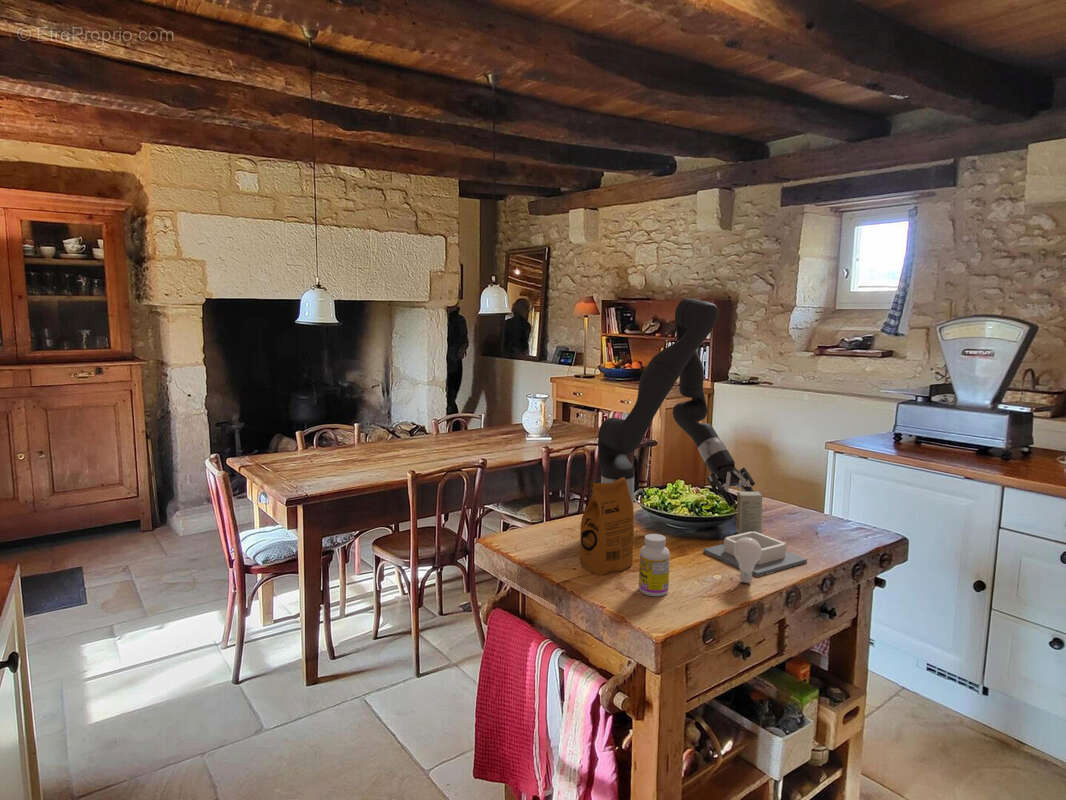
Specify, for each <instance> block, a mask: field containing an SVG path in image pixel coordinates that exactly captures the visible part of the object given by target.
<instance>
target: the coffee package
mask: <svg viewBox="0 0 1066 800" xmlns="http://www.w3.org/2000/svg"><path fill="white" fill-rule="evenodd" d="M590 489H592V490H591V491H592V494H591V495H590V498H589V502H588V504H587V506H586V507H585V510H584V511H583V514H582V516H581V521H580V543H579V544H580V545H579V546H580V547H579V562H580V565H581V567H583V568H585V569H587V571H590V572H591V573H592V574H595V575H597V576H604V575H607V574H609V573H610V572H616V573H618V572H619V573H620V572H623V571H624V570H626V569H628V568H630V567H632V566H633V562H634V561H633V559H634V539H635V537H634V533H635V525H634V524H635V516H634V515H635V514H634V506H633V503H632V500H631V496H630V494H629V489H628V486H627V483H626V479H625V478H624V477H622V478H620V479H618V480H617V481H615V482H614V483H601V482H596V483H595V482H591V484H590Z"/></svg>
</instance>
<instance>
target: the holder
mask: <svg viewBox="0 0 1066 800" xmlns="http://www.w3.org/2000/svg"><path fill="white" fill-rule="evenodd" d="M743 537H750V538H753V539H755V540H756V541H757V542H758V543H759V544H760V546H761V549H762V555H761V558H760V560H759V561H758V562H757V563H756V564H755V567H754V570H753V571H752V576H754V575H755V576H754V577H756V576H759V577H762V576H765V575H764V574H766V575H768V574H767V573H769V574H772V573H771V572H773V573H776V572H779V571H778V570H780V571H783V570H782V569H784V570H786V569H785V568H787V569H790V568H789V567H791V568H793V567H792V566H794V567H796V566H795V565H798V566H800V565H799V564H801V565H803V564H802V563H805V564H807V563H806V562H808V558H806V557H803V556H800V555H797V554H795V553H793V552H790V551H787V543H786V542H784V541H781V540H779V539H776V538H774V537H771V536H767V535H766V534H763V533H761V534H760V533H758V532H755V531H754V532H751V531H750V532H746V533H742V534H735V535H730V536H726V537H725V538H724V539H723V540H724V541H723V543H722V544H718V545H714V546H710V547H706V548H705V547H704V548H703V552H704V553H703V554H706V555H708V554H709V555H708V556H710V555H711V556H710V557H712V556H713V558H714V557H715V559H717V560H719V559H720V560H719V561H721V560H722V561H721V562H723V561H724V562H723V563H725V562H726V563H725V564H728V565H730V564H731V565H730V566H732V565H733V566H732V567H734V566H735V568H736V567H737V569H739V570H740V568H739V563H738V561H737V560H736V558H735V556H734V553H733V547H734V544H735V543H736V541H737V540H739V539H740V538H743ZM775 571H776V572H775ZM761 575H762V576H761Z"/></svg>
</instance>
